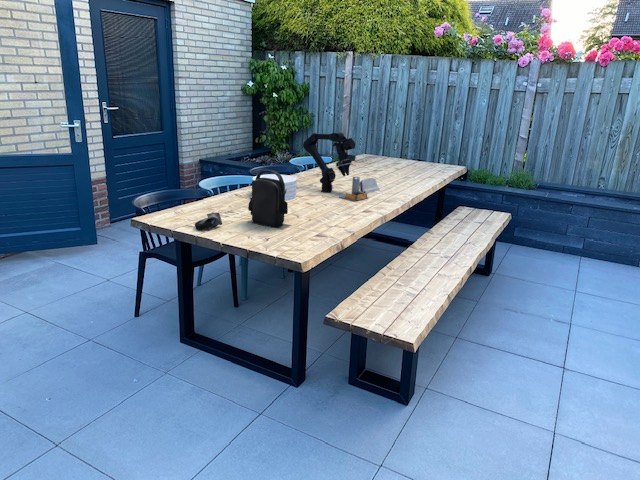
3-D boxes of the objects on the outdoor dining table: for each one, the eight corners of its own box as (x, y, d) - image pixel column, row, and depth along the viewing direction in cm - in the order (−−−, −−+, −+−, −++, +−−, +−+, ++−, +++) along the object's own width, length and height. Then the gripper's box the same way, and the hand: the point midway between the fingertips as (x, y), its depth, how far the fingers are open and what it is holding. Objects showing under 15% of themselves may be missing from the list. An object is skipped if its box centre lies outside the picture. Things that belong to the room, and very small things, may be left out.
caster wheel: (194, 235, 236) (202, 226, 245) (215, 232, 233) (223, 224, 242) (190, 222, 233) (198, 214, 242) (211, 220, 230) (219, 211, 239)
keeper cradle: (338, 197, 310) (339, 192, 309) (352, 194, 319) (353, 189, 318) (354, 201, 301) (354, 196, 300) (368, 198, 311) (368, 193, 310)
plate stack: (289, 202, 294) (290, 184, 290) (246, 199, 299) (245, 181, 295) (301, 193, 320) (301, 176, 316) (260, 189, 325) (260, 173, 321)
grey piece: (349, 197, 309) (350, 177, 305) (354, 196, 313) (355, 176, 309) (355, 198, 306) (356, 178, 302) (360, 197, 309) (361, 177, 305)
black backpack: (292, 225, 248) (293, 171, 239) (282, 229, 240) (283, 174, 232) (257, 218, 258) (256, 166, 250) (246, 222, 251) (245, 168, 242)
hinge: (365, 193, 324) (362, 179, 323) (360, 194, 327) (357, 180, 326) (380, 190, 336) (377, 176, 335) (374, 191, 339) (371, 177, 338)
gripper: (356, 147, 303) (361, 172, 305) (349, 151, 322) (354, 174, 323) (340, 151, 301) (345, 176, 303) (333, 154, 320) (338, 177, 321)
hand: (346, 175), depth 313 cm, fingers open, 9 cm apart
